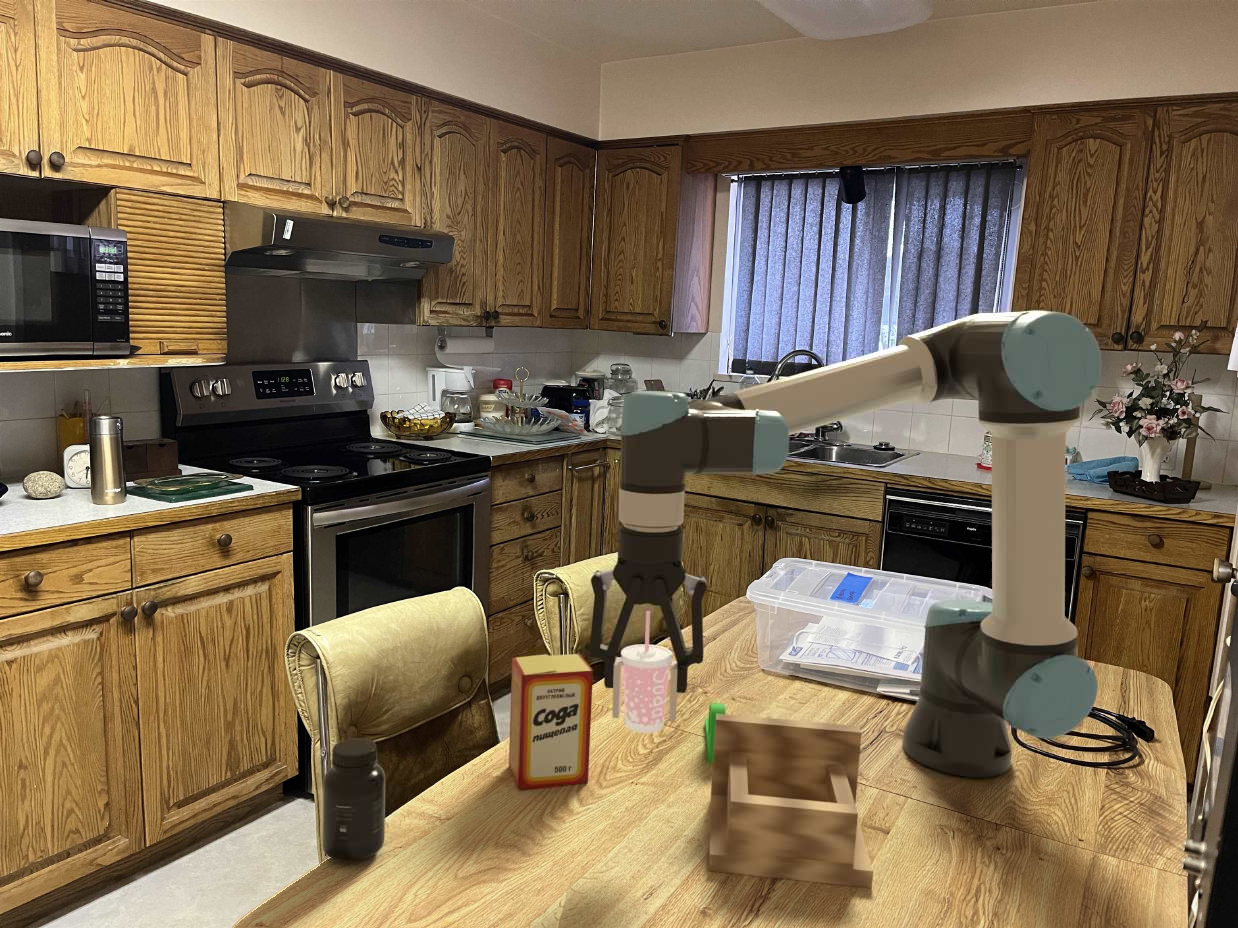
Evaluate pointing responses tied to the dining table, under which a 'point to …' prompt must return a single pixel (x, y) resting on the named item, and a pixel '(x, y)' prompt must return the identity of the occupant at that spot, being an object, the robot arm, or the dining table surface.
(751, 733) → the wooden caddy with backboard
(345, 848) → the supplement bottle
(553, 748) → the baking soda box
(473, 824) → the dining table surface
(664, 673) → the beverage cup
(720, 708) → the mechanical part
